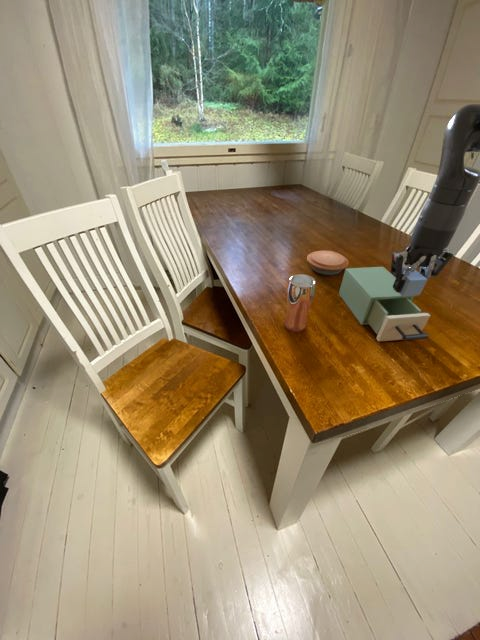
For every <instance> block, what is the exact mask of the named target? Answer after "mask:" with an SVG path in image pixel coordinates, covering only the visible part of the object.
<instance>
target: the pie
mask: <svg viewBox="0 0 480 640" xmlns="http://www.w3.org/2000/svg"><path fill="white" fill-rule="evenodd" d="M306 261H307V262H308V264H309V266H310V268H311V270H313V271H314V272H315V273H317V274H319V275H324V276H333V275H337V274H339V273H341V272H342V271H343V270H344V269H346V268H347V267H348V266H349V260H348V259H347V257H345V256H344V255H343V254H340V253H339V252H336V251H331V250H317V251H313V252H310V253H309V254H308V255H307V257H306Z"/></svg>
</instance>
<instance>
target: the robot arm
mask: <svg viewBox="0 0 480 640" xmlns="http://www.w3.org/2000/svg"><path fill="white" fill-rule="evenodd" d="M466 153H471V154H472V153H473V154H480V103H469V104H466V105H464V106H462V107H461V108H459V109H458V110H457V111H456V112H455V113H454V114H453V115H452V117H451V118H450V120H448V123H447V125H446V126H445V130H444V133H443V137H442V144H441V153H440V159H439V160H440V161H439V166H438V171H437V176H436V179H435V181H434V184H433V186H432V188H431V191H430V193H429V195H428V198H427V200H426V202H425V203H424V205H423V206H422V209H421V211H420V214H419V216H418V219H417V221H416V223H415V226H414V227H413V230H412V233H411V235H410V238H409V245H408V247H407V248H406V249H405V250H404V251H401V252H398V251H393V253H392V256H391V263H390V271H389V272H390V273H391V274H392V275H393V276H394V277H395V278H396V279H395V282H394V284H393V289H394V290H395V291H396V292H397V293H398V292H401V290H402V288H403V286H404V284H405V281H406V279H407V277H408V276H409V275H410V273H413V272H414V271H415V270H416V271H417V269H418V268H419V271H418V272H419V273H420V274H421V275H423V276H424V277H425V278H427V279H430V278H431V277H437V276H438V275H439V274H440V273H441V271H442V270H443V269H444V268H445V267H446V265H448V263H449V262H450V260H451V259H452V258H453V257H454V253H452V252H451V251H449V250H447V248H448V247H449V245H450V243H451V241H452V239H453V237H454V235H455V234H456V232H457V230H458V228H459V226H460V224H461V223H462V221H463V218H464V216H465V212H466V210H467V207H468V205H469V203H470V201H471V199H472V196H473V195H474V193H475V191H476V189H477V188H478V185H479V183H480V170H479V169H477V168H474V167H471V166H468V165H465V156H466ZM404 271H405V273H404V274H403V272H404Z"/></svg>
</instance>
